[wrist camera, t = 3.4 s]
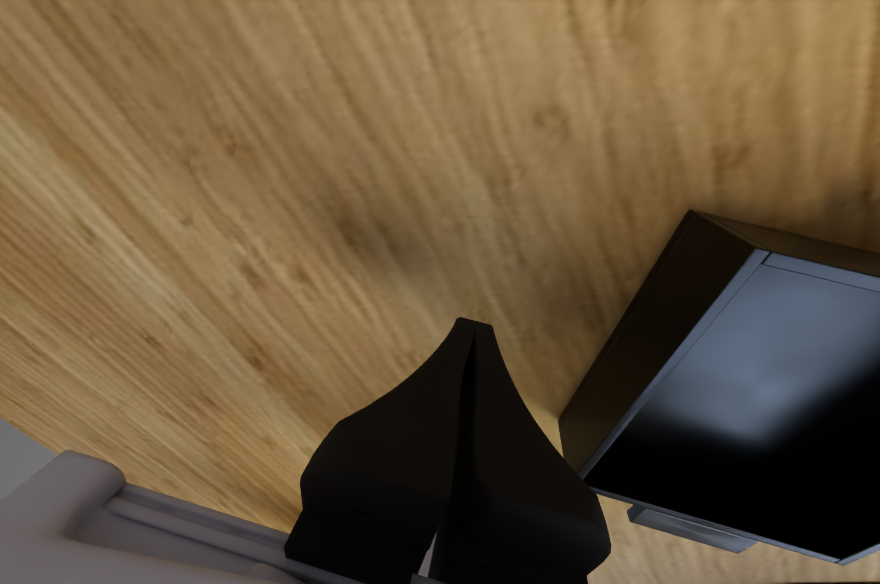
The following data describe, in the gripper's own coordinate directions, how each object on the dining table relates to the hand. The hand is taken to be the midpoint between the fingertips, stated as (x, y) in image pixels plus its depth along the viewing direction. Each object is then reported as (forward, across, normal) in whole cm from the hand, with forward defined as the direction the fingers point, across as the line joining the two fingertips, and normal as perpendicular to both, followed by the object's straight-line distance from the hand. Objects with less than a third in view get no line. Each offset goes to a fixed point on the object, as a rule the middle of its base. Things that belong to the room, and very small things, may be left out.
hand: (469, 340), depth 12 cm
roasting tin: (+3, -12, 0) cm, 12 cm away
